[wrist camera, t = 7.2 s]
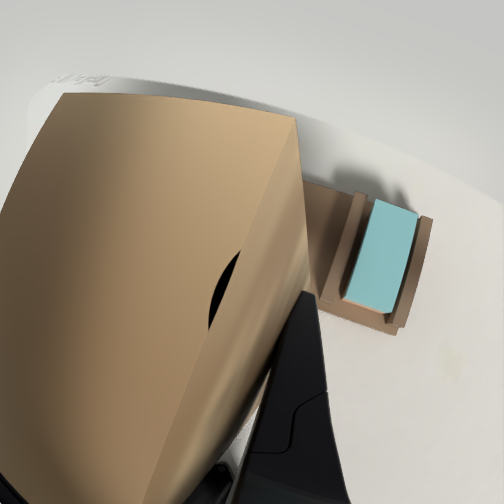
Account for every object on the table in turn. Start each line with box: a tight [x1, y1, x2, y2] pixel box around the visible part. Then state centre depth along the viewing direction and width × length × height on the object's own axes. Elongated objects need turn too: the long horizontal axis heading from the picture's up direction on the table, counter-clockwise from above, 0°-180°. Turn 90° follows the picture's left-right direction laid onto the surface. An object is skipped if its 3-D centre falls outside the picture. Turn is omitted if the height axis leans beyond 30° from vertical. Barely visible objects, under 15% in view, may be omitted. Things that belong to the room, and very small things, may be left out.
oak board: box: [0, 93, 311, 504], centre depth 9 cm, size 4×3×14 cm, turn 158°
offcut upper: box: [343, 199, 418, 313], centre depth 17 cm, size 6×3×2 cm, turn 158°
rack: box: [302, 180, 433, 336], centre depth 20 cm, size 8×11×3 cm
